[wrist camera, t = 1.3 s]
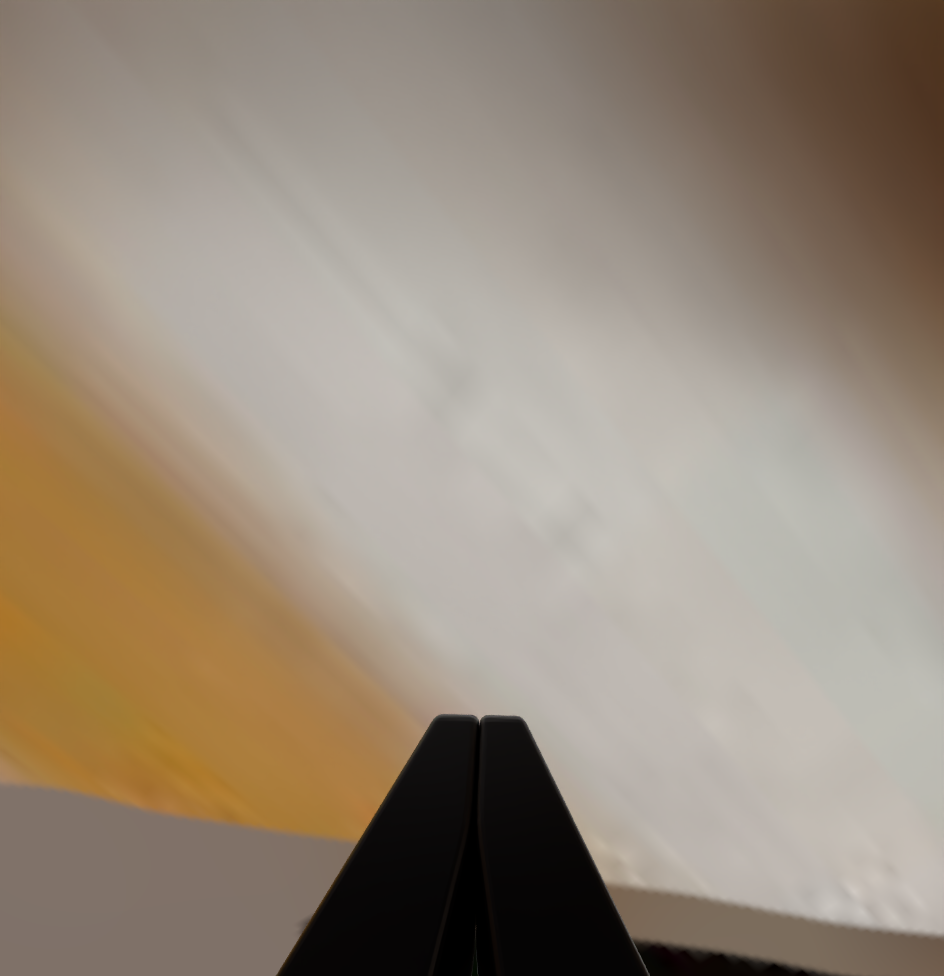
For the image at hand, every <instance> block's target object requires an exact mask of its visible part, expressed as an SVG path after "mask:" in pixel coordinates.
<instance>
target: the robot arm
mask: <svg viewBox="0 0 944 976" xmlns="http://www.w3.org/2000/svg"><path fill="white" fill-rule="evenodd" d="M475 932H476V952H477V969H478V976H650V975H649V973H648V971H647V969H646V967H645V965H644V963H643V961H642V959H641V957H640V955H639V953H638V951H637V948H636V946H635V944H634V942H633V940H632V938H631V936H630V934H629V932H628V930H627V928H626V926H625V924H624V922H623V920H622V918H621V916H620V914H619V912H618V910H617V908H616V905H615V903H614V901H613V900H612V897H611V895H610V893H609V891H608V889H607V887H606V885H605V883H604V881H603V879H602V877H601V875H600V873H599V871H598V869H597V867H596V865H595V863H594V860H593V858H592V856H591V854H590V852H589V850H588V848H587V846H586V844H585V842H584V840H583V838H582V836H581V834H580V832H579V830H578V828H577V826H576V824H575V822H574V820H573V818H572V815H571V813H570V811H569V809H568V807H567V805H566V803H565V801H564V799H563V797H562V795H561V793H560V791H559V789H558V787H557V785H556V783H555V781H554V779H553V777H552V775H551V773H550V770H549V768H548V766H547V764H546V762H545V760H544V758H543V756H542V754H541V752H540V750H539V748H538V746H537V744H536V742H535V740H534V738H533V736H532V734H531V732H530V730H529V728H528V725H527V724H526V722H525V721H524V720H523V718H521V717H519V716H502V715H486V716H484V717H482V719H481V720H480V726H479V720H478V718H477V717H476V716H474V715H458V714H441V715H438V716H437V717H435V719H434V720H433V721H432V722H431V724H430V726H429V727H428V729H427V730H426V732H425V734H424V735H423V737H422V739H421V740H420V742H419V744H418V745H417V747H416V748H415V750H414V752H413V753H412V755H411V757H410V758H409V760H408V761H407V763H406V765H405V766H404V768H403V770H402V771H401V773H400V774H399V776H398V778H397V779H396V781H395V783H394V784H393V786H392V788H391V789H390V791H389V792H388V794H387V796H386V797H385V799H384V801H383V802H382V804H381V805H380V807H379V809H378V810H377V812H376V814H375V815H374V817H373V818H372V820H371V822H370V823H369V825H368V827H367V828H366V830H365V832H364V833H363V835H362V836H361V838H360V840H359V841H358V843H357V845H356V846H355V848H354V850H353V851H352V853H351V854H350V856H349V858H348V859H347V861H346V863H345V864H344V866H343V868H342V869H341V871H340V873H339V874H338V876H337V877H336V879H335V880H334V882H333V884H332V885H331V887H330V889H329V890H328V892H327V893H326V895H325V897H324V898H323V900H322V902H321V903H320V905H319V907H318V908H317V910H316V911H315V913H314V915H313V916H312V918H311V920H310V921H309V923H308V924H307V926H306V928H305V929H304V931H303V933H302V934H301V936H300V937H299V939H298V941H297V942H296V944H295V946H294V947H293V949H292V951H291V952H290V954H289V955H288V957H287V959H286V960H285V962H284V964H283V965H282V967H281V968H280V970H279V972H278V974H277V975H276V976H472V968H473V959H474V949H475Z"/></svg>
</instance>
